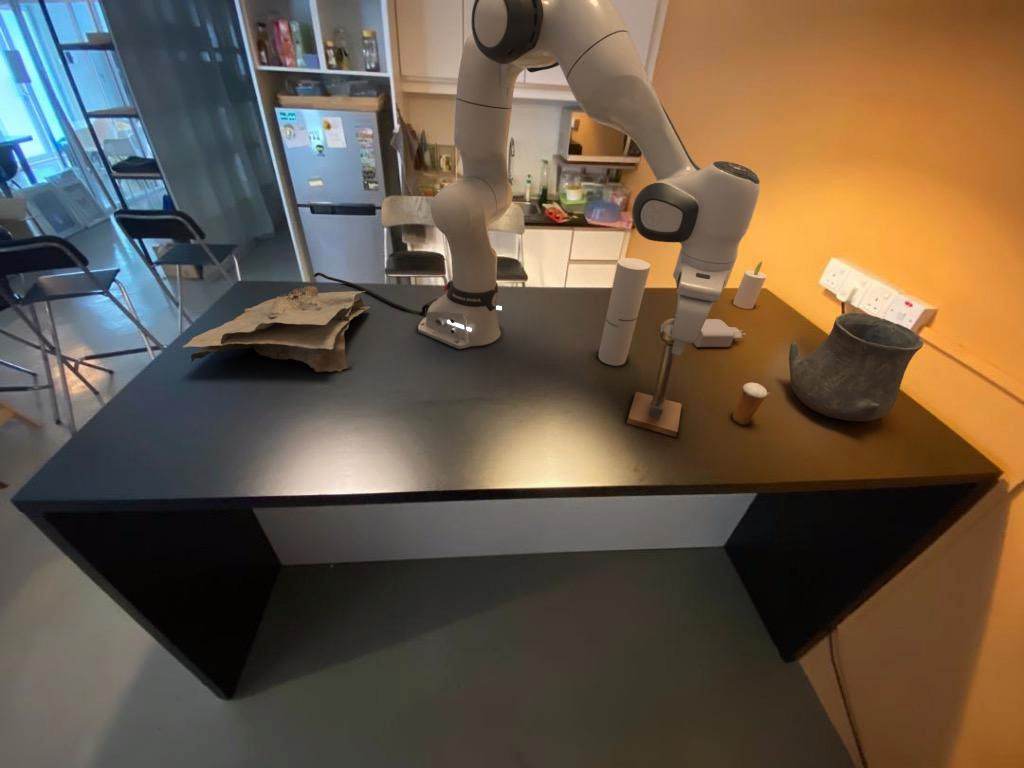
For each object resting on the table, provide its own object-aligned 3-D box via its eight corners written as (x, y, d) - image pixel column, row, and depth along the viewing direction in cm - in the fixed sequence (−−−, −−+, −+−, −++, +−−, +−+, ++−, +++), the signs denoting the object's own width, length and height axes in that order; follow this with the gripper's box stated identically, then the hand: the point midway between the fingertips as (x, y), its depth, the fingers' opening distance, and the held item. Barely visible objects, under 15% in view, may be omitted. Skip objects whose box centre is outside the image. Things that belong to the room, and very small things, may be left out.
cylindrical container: (626, 367, 106) (651, 271, 91) (597, 362, 107) (617, 267, 92) (625, 352, 112) (649, 260, 97) (598, 348, 113) (617, 256, 98)
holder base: (626, 423, 89) (630, 408, 87) (634, 396, 97) (638, 382, 94) (675, 437, 86) (681, 423, 84) (679, 408, 94) (684, 395, 92)
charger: (749, 348, 117) (697, 348, 115) (732, 332, 124) (683, 331, 123) (756, 333, 114) (703, 333, 113) (738, 317, 121) (688, 317, 120)
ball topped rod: (660, 323, 77) (689, 327, 76) (663, 312, 81) (691, 316, 79) (642, 413, 89) (667, 418, 88) (646, 400, 93) (669, 404, 91)
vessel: (915, 433, 91) (981, 355, 80) (825, 440, 88) (880, 360, 76) (838, 374, 109) (883, 303, 97) (761, 378, 105) (798, 305, 93)
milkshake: (754, 431, 89) (774, 393, 83) (727, 421, 91) (745, 384, 85) (757, 419, 92) (776, 382, 86) (731, 410, 94) (748, 373, 88)
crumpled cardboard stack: (252, 282, 117) (367, 274, 117) (270, 337, 124) (378, 329, 124) (166, 322, 85) (323, 310, 86) (197, 393, 92) (342, 381, 93)
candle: (750, 301, 142) (769, 258, 133) (755, 310, 137) (774, 265, 128) (731, 298, 143) (748, 255, 134) (734, 307, 138) (752, 262, 129)
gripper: (687, 249, 81) (667, 314, 89) (678, 288, 65) (654, 362, 74) (722, 255, 79) (698, 321, 87) (721, 297, 64) (692, 372, 72)
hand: (678, 340), depth 80 cm, fingers open, 8 cm apart
